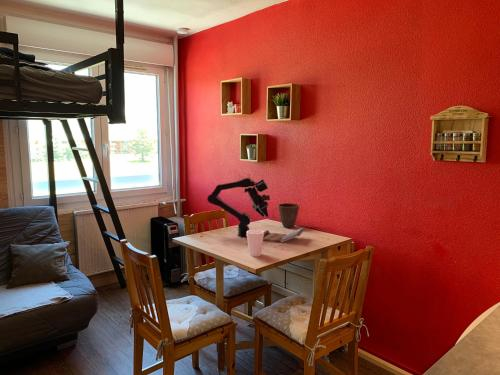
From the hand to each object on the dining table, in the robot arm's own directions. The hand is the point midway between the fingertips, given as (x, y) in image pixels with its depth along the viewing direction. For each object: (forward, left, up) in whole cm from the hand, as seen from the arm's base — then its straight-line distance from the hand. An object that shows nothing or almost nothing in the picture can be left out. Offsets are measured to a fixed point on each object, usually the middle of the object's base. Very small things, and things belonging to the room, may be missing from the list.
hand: (265, 216), depth 244 cm
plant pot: (+28, +14, -13) cm, 34 cm away
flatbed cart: (+1, -6, -13) cm, 15 cm away
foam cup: (-26, -29, -13) cm, 41 cm away
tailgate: (+6, -12, -12) cm, 18 cm away
